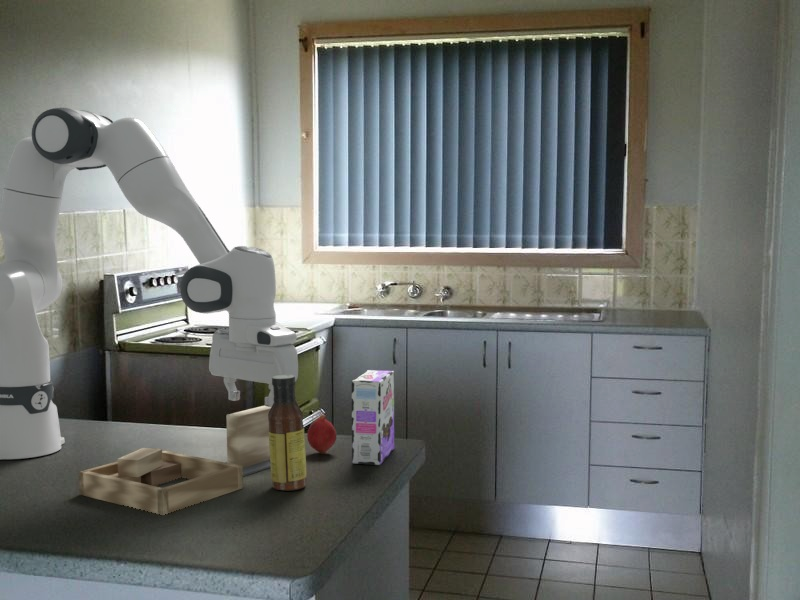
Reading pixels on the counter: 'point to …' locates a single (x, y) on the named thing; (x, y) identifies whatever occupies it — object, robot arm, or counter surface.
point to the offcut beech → (139, 462)
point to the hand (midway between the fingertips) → (252, 403)
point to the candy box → (372, 417)
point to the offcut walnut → (162, 473)
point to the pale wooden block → (248, 436)
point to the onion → (321, 435)
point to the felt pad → (256, 467)
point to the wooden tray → (202, 486)
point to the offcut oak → (128, 478)
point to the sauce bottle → (286, 437)
